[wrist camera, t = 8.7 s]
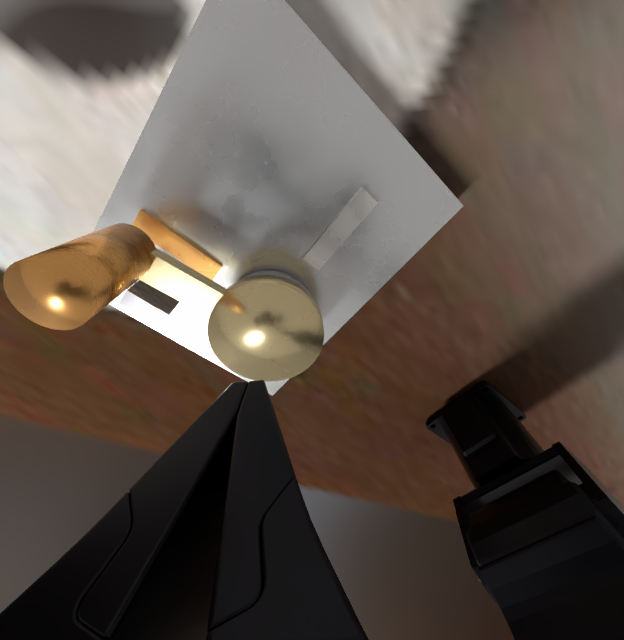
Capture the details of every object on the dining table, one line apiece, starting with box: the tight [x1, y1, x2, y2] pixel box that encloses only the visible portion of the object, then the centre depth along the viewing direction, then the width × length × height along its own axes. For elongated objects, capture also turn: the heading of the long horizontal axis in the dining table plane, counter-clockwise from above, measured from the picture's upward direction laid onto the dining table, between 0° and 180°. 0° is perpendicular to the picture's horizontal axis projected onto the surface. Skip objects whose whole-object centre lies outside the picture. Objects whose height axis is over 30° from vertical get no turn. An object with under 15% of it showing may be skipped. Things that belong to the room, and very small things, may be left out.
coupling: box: [3, 223, 324, 381], centre depth 14 cm, size 12×6×6 cm, turn 54°
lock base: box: [94, 0, 463, 396], centre depth 17 cm, size 15×18×4 cm
